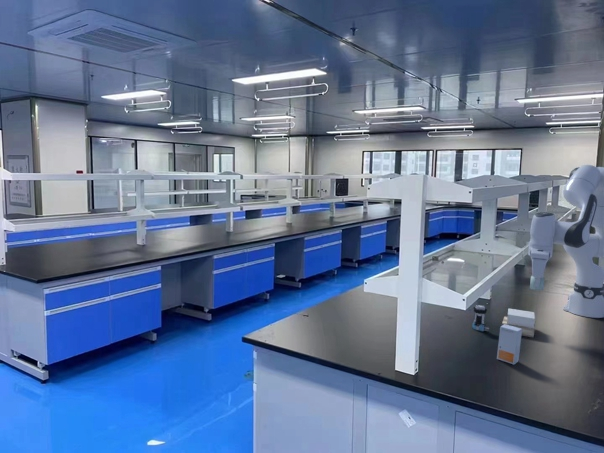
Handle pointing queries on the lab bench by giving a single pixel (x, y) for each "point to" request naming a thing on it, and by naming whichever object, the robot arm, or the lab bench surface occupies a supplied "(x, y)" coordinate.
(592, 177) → the robot arm
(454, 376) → the lab bench surface
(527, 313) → the white top block
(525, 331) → the maple base block
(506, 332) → the skincare box
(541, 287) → the pale blue egg shape
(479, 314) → the push button
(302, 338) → the lab bench surface
